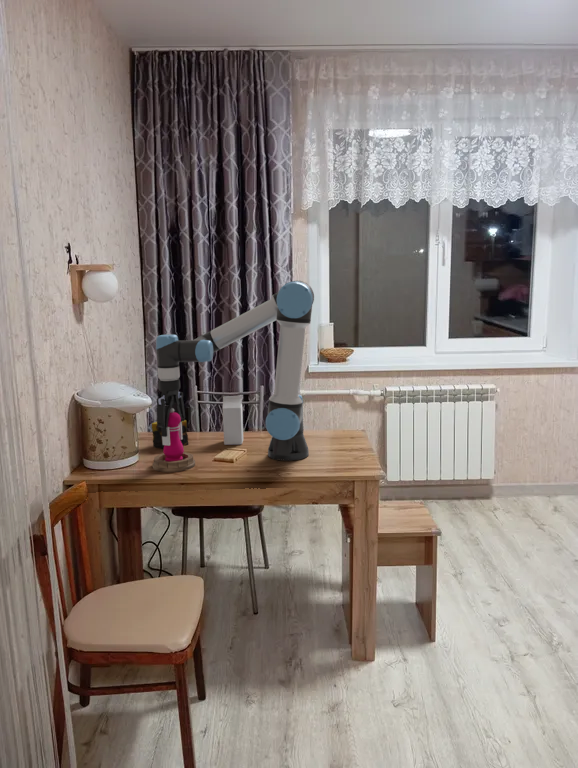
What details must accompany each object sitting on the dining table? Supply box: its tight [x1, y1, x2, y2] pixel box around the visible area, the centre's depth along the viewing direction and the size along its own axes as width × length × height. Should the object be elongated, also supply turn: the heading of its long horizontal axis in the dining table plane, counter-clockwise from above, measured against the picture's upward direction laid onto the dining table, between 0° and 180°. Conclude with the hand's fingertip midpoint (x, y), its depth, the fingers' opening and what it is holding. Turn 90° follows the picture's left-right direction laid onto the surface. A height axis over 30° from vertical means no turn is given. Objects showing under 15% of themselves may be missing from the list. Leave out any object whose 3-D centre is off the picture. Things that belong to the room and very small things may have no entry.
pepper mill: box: [162, 408, 185, 461], centre depth 242 cm, size 7×7×20 cm
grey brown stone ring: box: [152, 451, 196, 473], centre depth 244 cm, size 15×15×3 cm
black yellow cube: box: [151, 419, 189, 449], centre depth 270 cm, size 10×10×10 cm
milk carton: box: [222, 395, 244, 445], centre depth 272 cm, size 7×7×19 cm
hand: (172, 442), depth 243 cm, fingers open, 7 cm apart
